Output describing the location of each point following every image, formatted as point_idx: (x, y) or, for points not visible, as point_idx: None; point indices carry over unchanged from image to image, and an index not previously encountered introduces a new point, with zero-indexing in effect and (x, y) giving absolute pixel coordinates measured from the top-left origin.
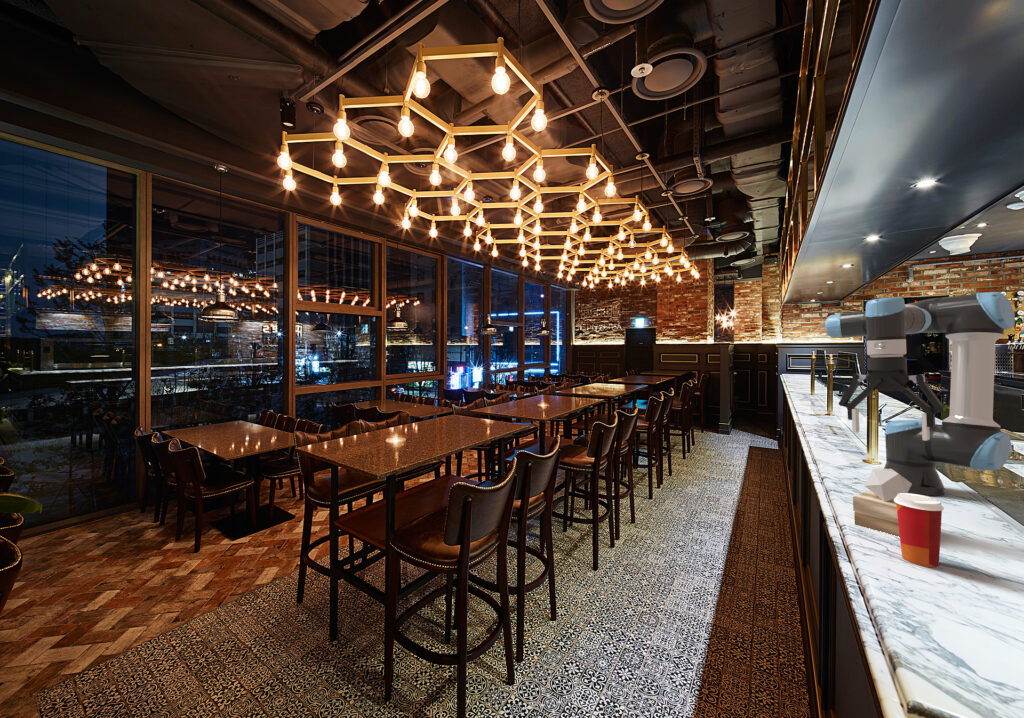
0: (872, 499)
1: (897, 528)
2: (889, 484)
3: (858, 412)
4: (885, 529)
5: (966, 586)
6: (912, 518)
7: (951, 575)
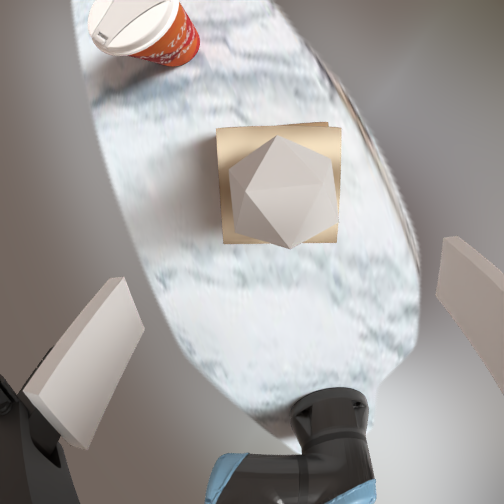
0: (301, 143)
1: None
2: (260, 152)
3: (500, 376)
4: None
5: None
6: None
7: None
